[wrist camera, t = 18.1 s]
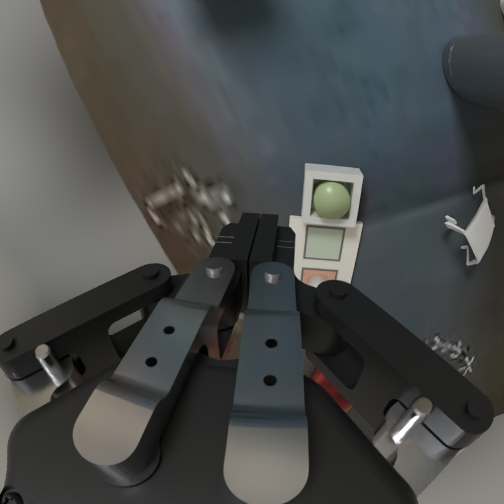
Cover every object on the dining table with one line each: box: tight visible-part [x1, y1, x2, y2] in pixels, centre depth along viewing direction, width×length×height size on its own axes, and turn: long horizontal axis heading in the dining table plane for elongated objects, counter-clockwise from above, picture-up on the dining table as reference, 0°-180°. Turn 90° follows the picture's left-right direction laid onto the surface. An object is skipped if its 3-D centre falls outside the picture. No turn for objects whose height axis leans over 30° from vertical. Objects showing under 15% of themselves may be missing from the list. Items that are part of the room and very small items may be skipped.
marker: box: [306, 274, 328, 288], centre depth 42 cm, size 4×4×10 cm
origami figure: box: [445, 184, 495, 266], centre depth 36 cm, size 12×8×5 cm
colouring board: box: [289, 215, 363, 284], centre depth 45 cm, size 10×14×1 cm
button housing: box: [301, 163, 363, 228], centre depth 38 cm, size 7×7×3 cm
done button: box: [313, 180, 350, 219], centre depth 37 cm, size 4×4×3 cm
